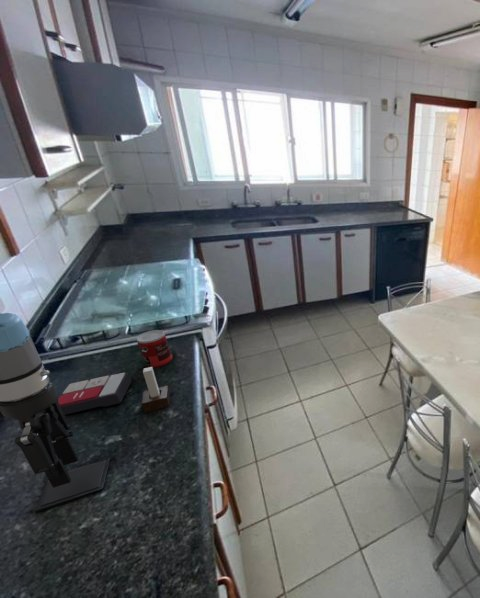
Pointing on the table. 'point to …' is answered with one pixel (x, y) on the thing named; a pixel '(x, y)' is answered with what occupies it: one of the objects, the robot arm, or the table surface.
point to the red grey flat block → (94, 393)
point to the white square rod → (151, 382)
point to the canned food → (154, 348)
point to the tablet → (75, 485)
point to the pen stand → (156, 400)
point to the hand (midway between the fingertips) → (66, 472)
